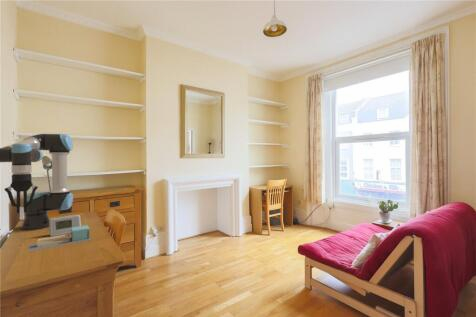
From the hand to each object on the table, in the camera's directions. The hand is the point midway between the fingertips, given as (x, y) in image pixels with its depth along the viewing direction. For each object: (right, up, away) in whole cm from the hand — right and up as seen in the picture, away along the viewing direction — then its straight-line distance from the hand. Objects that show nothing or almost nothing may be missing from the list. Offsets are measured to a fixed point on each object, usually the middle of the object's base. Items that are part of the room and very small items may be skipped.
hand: (21, 219), depth 121 cm
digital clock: (+4, -16, +26) cm, 31 cm away
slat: (+10, -15, +8) cm, 20 cm away
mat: (+13, -16, +9) cm, 23 cm away
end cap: (+19, -15, +16) cm, 29 cm away
